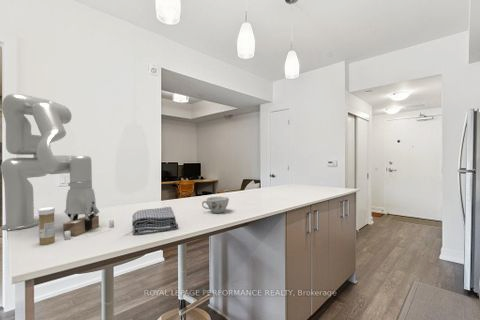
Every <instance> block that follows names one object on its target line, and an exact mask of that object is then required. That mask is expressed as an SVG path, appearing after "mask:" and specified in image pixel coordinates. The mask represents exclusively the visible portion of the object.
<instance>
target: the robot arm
mask: <svg viewBox="0 0 480 320" xmlns="http://www.w3.org/2000/svg"><path fill="white" fill-rule="evenodd" d="M1 112H2V115H3V118H4V122H5V149H6V150H7V152H8V153H9V154H11V155H17V156H18V155H19V156H21V155H22V156H23V155H24V156H27V155H28V156H29V155H31V156H33V157H11V158H8V159H5V160H4V161H2V162H1V164H0V172H1V175H2V179H3V184H4V185H3V186H4V208H5V211H4V212H5V213H4V214H5V224H3V225H1V226H0V230H1V231H17V230H24V229H28V228H32V227H35V226H37V225H39V220H37V219H36V220H35V217H34V216H35V206H34V205H35V204H34V187H33V184H32V183H31V181H29V179H30V178H40V177H45V176H47V175H61V174H69V183H68V184H67V185H68V186H69V189H68V191H67V195H66V200H65V202H66V203H65V210H64V214H66V216H67V217H68V218H69V221H73V220H76V219H79V215H84V217H86V220H87V221H85V231H88V230H90V229H92V219H94V217H95V216H96V215H98V214H100V210H99V209H98V207H97V205H96V204H97V203H96V202H97V201H96V193H95V189H94V188H93V181H92V180H93V179H92V178H93V173H92V170H93V169H92V158H91V156H89V155H54V153H53V152H52V149H51V143H55V142H57V141H59V140H62V139H63V138H65V137H66V135H67V131H66V129H65V127H64V125H65V124H68V123H70V122H71V120H72V118H73V117H72V112H71V110H70V109H69V108H68V107H67V106H66V105H63V104H60V103H58V102H56V101H53V100H49V99H45V98H40V97H36V96H33V95H27V94H21V93H11V94H7V95H6V96H5V97H4V98H3V99H2V103H1ZM26 116H32V117H33V119H34V121H35V124H36V125H37V128H38V130H39V133H40V135H38V134H32V124H31V122H30V121H29V118H27V117H26ZM8 229H10V230H8ZM90 231H91V230H90Z"/></svg>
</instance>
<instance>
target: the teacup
mask: <svg viewBox="0 0 480 320" xmlns="http://www.w3.org/2000/svg"><path fill="white" fill-rule="evenodd" d="M229 199H230V198H229V197H228V196H227V197H226V196H211V197H207V198H206V200H203V201H202V202H201V206H202V207H203V209H205V210H210V211H211V212H212V213H213V214H222V213H224V211H225V210H226V209H227V207H228V204H229ZM204 204H206V206H207V207H206V206H205V205H204Z"/></svg>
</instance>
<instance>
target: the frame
mask: <svg viewBox="0 0 480 320" xmlns="http://www.w3.org/2000/svg"><path fill="white" fill-rule="evenodd" d="M85 221H87V220H86V217H85V216H83V217H78V219H76V220H73V221H71V220H69V221H67V222H64V223H63V225H62V228H63V229H62V230H63V234H62V235H63V238H65V234H64V232H65V231H70V236H71V237H76V236H79V235H81V234H83V233H86V232H88V231H91V230H95V229H98V228H100V222H99V221H100V219H99V215H98V214H97V215H96V216H95V217H94V219H92V229H90V230H88V231H85Z"/></svg>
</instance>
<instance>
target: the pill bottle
mask: <svg viewBox="0 0 480 320" xmlns="http://www.w3.org/2000/svg"><path fill="white" fill-rule="evenodd" d="M37 211H38V213H37V214H38V236H39V246H49V245H52V244H54V243H55V235H56V233H55V232H56V226H55V224H56V223H55V211H56V210H55V207H54V206H53V207H52V206H49V207H41V208H38V210H37Z"/></svg>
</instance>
